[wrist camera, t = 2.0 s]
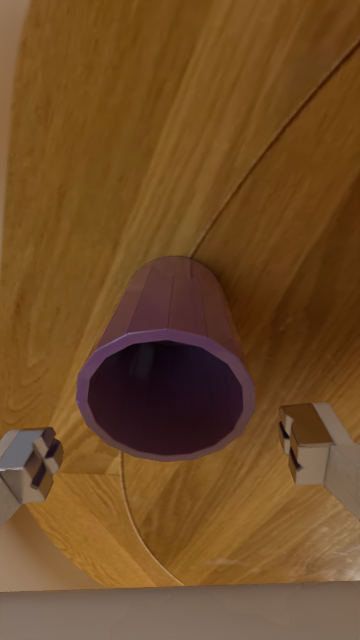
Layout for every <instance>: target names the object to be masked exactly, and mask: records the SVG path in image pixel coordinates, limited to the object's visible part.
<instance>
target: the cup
mask: <svg viewBox="0 0 360 640" xmlns="http://www.w3.org/2000/svg"><path fill="white" fill-rule="evenodd" d="M76 403H77V405H78V408H79V410H80V412H81V414H82V416H83V419H84V421H85V423H86V425H87V426H88V427H89V428H90V429H91V430H92V431H93V432H94V433H95V434H96V435H97V436H99V437H100V438H101V439H102V440H103V441H104V442H105V443H106V444H108V445H109V446H111V447H114V448H116V449H118V450H120V451H122V452H124V453H127V454H129V455H131V456H134V457H137V458H143V459H149V460H155V461H160V462H172V461H185V460H193V459H198V458H200V457H203V456H206V455H209V454H212V453H214V452H217V451H220V450H222V449H223V448H225V447H226V446H227V445H228V444H230V443H231V442H232V441H234V440H235V439H236V438H237V437H239V436H240V435H241V434H242V433H243V432H244V430H245V428H246V426H247V424H248V422H249V421H250V419H251V417H252V415H253V413H254V411H255V384H254V381H253V378H252V375H251V372H250V369H249V366H248V363H247V360H246V357H245V354H244V351H243V347H242V344H241V341H240V338H239V335H238V332H237V329H236V326H235V323H234V320H233V317H232V314H231V311H230V308H229V305H228V302H227V299H226V296H225V293H224V291H223V289H222V287H221V285H220V282H219V281H218V279H217V278H216V276H215V275H214V274H213V273H212V272H211V271H210V270H209V269H208V268H207V267H206V266H204V265H203V264H201V263H199V262H197V261H195V260H192V259H189V258H186V257H180V256H168V257H162V258H158V259H155V260H152V261H150V262H148V263H147V264H145V265H144V266H142V267H141V268H140V269H139V270H138V271H137V272H136V273H135V274H134V275H133V276H132V278H131V280H130V281H129V283H128V284H127V286H126V287H125V289H124V291H123V293H122V295H121V296H120V298H119V300H118V302H117V304H116V306H115V307H114V309H113V311H112V313H111V315H110V317H109V318H108V320H107V322H106V324H105V326H104V328H103V329H102V331H101V333H100V335H99V337H98V338H97V340H96V342H95V344H94V346H93V348H92V349H91V351H90V353H89V355H88V357H87V359H86V360H85V362H84V364H83V366H82V368H81V370H80V371H79V374H78V379H77V391H76Z"/></svg>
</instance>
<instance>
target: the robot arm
mask: <svg viewBox="0 0 360 640" xmlns="http://www.w3.org/2000/svg"><path fill="white" fill-rule="evenodd" d="M279 416H280V419H281V421H280V422H279V423H278V431H279V438H280V442H281V445H282V448H283V451H284V453H285V454H286V455H288V456H289V463H288V465H289V468H290V471H291V474H292V476H293V479H294V482H295V485H324V486H325V487H326V488H327V489H328V490H329V491H330V492H331V493H332V494H333V495H334V496H335V497H336V498H337V499H338V500H339V501H340V502H341V503H342V504H343V505H344V506H345V507H346V508H347V509H348V510H349V511H350V512H351V513H352V514H353V515H354V516H355V517H356V518H357V519H358V520H359V521H360V444H355V443H354V441H353V440H352V438H351V436H350V435H349V433H348V432H347V430H346V429H345V427H344V426H343V424H342V423H341V421H340V419H339V418H338V416H337V415H336V413H335V412H334V410H333V409H332V407H331V406H330V404H329V403H328V402H316V403H304V404H294V405H285V406H280V407H279ZM55 435H56V433H55V431H54V429H53V428H52V427H42V428H26V429H14V430H10V431H8V432H7V433H5V435H4V436H3V438H2V439H1V440H0V528H1V527H2V526H3V524H5V523H6V521H7V520H8V519H9V518H10V517H11V516H12V515H13V514H14V513H15V512H16V510H17V509H18V508H19V507H20V506H21V504H22V503H23V504H24V503H34V502H45V500H46V498H47V496H48V493H49V491H50V489H51V487H52V484H53V482H54V481H53V475H54V474H55V473H56V472H57V471H58V470H59V468H60V466H61V464H62V461H63V454H64V451H63V446H62V444H61V442H60V441H58V440H57V439H55V438H54V437H55ZM0 640H360V581H329V582H298V583H267V584H236V585H205V586H174V587H143V588H112V589H81V590H51V591H20V592H0Z"/></svg>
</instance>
